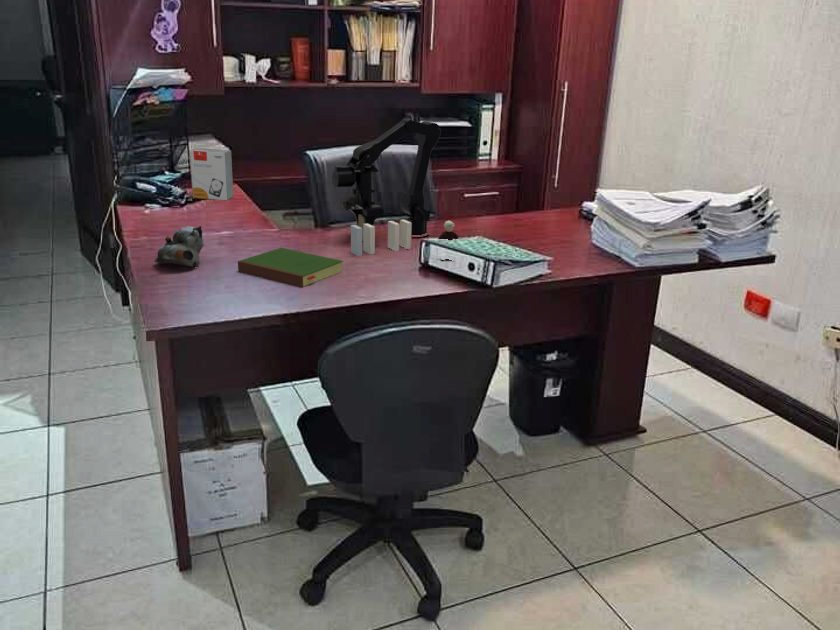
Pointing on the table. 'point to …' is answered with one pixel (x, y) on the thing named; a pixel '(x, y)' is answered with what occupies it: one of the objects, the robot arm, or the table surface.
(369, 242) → the domino
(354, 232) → the domino
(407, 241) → the domino
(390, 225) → the domino
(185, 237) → the grey lumpy figure
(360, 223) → the domino
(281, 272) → the hardcover book
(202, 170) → the hard drive box
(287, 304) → the table surface
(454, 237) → the grandmother figurine
